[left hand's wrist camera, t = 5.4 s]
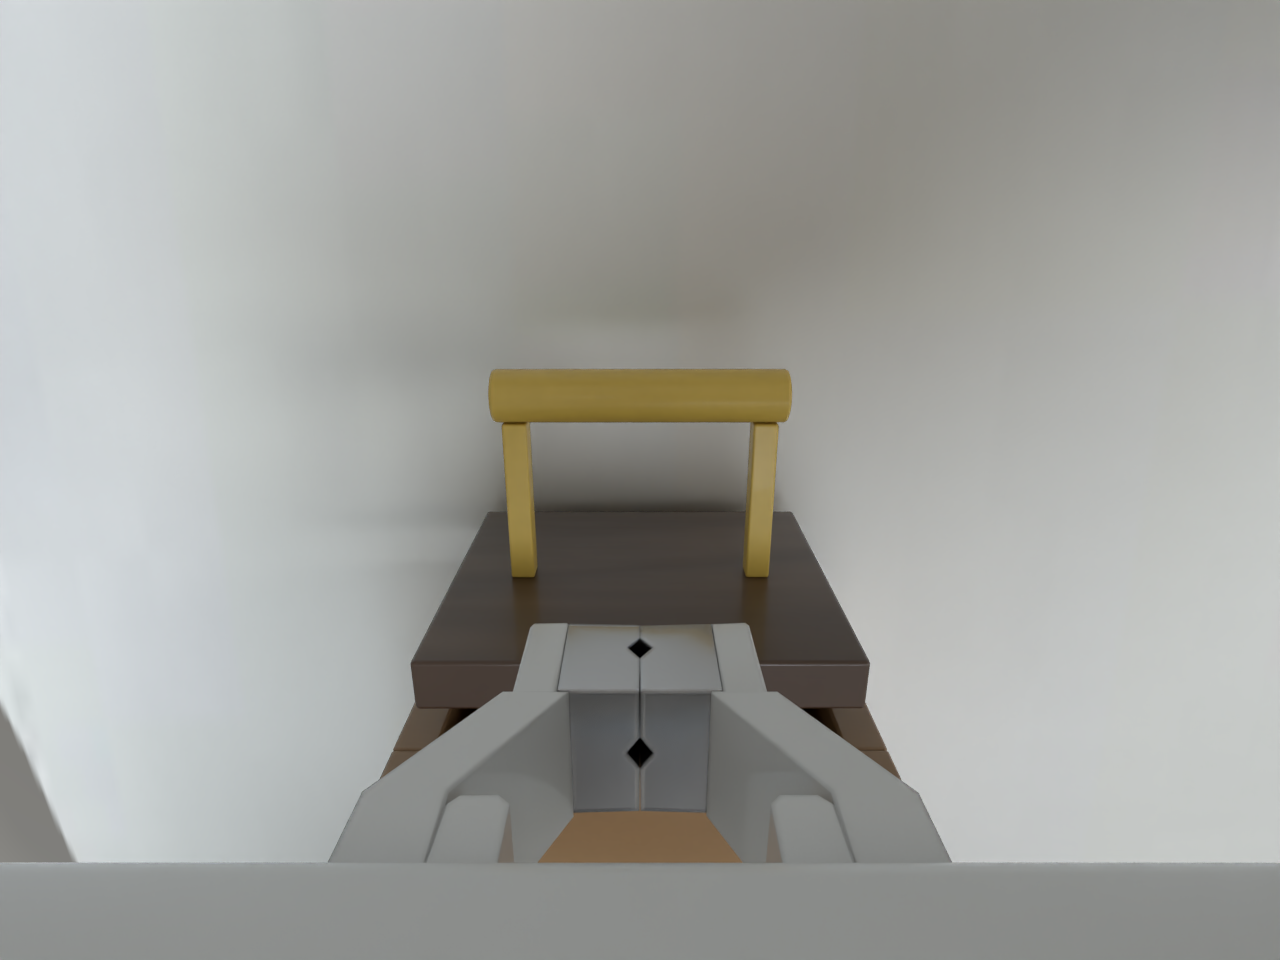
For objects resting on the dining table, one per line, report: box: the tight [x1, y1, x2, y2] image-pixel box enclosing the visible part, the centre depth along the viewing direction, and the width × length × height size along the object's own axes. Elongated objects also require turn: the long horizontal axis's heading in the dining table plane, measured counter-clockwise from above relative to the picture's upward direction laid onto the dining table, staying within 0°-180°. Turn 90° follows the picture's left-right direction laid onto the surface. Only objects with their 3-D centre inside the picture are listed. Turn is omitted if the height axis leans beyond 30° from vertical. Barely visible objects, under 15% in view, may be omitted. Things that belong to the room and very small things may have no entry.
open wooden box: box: [380, 702, 902, 863], centre depth 23 cm, size 20×11×10 cm, turn 0°
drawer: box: [411, 369, 870, 709], centre depth 21 cm, size 24×10×8 cm, turn 0°
